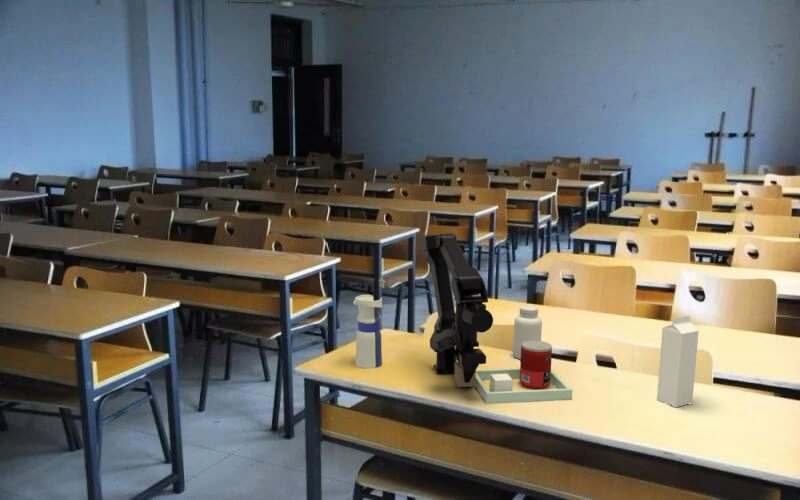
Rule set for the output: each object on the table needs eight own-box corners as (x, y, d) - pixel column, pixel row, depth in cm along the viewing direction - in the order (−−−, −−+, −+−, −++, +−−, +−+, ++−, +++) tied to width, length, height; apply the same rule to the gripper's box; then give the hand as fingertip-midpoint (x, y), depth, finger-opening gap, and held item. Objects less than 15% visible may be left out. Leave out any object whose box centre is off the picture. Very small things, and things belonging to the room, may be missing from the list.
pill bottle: (542, 361, 209) (544, 311, 207) (514, 361, 209) (516, 310, 207) (537, 352, 217) (540, 304, 214) (511, 352, 217) (512, 303, 214)
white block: (489, 392, 185) (490, 374, 184) (506, 392, 186) (507, 373, 185) (494, 399, 181) (495, 380, 180) (511, 398, 181) (512, 379, 180)
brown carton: (454, 380, 190) (454, 362, 189) (471, 379, 191) (471, 361, 190) (458, 386, 186) (458, 368, 185) (475, 386, 186) (475, 367, 185)
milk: (692, 403, 179) (700, 318, 175) (675, 408, 176) (683, 321, 172) (672, 395, 184) (680, 312, 180) (655, 399, 181) (663, 315, 177)
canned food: (550, 391, 187) (552, 350, 185) (518, 388, 188) (520, 348, 186) (550, 380, 194) (552, 341, 192) (520, 378, 195) (521, 339, 193)
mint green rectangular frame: (470, 378, 195) (470, 370, 194) (548, 375, 198) (549, 366, 197) (486, 403, 178) (486, 393, 178) (571, 399, 181) (572, 389, 181)
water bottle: (365, 356, 212) (365, 273, 207) (389, 362, 207) (389, 277, 202) (347, 364, 205) (347, 278, 201) (371, 370, 200) (371, 282, 196)
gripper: (428, 312, 193) (428, 368, 196) (442, 333, 175) (441, 394, 178) (469, 311, 195) (468, 366, 197) (487, 331, 176) (485, 392, 179)
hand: (464, 379), depth 188 cm, fingers closed on brown carton, 4 cm apart
